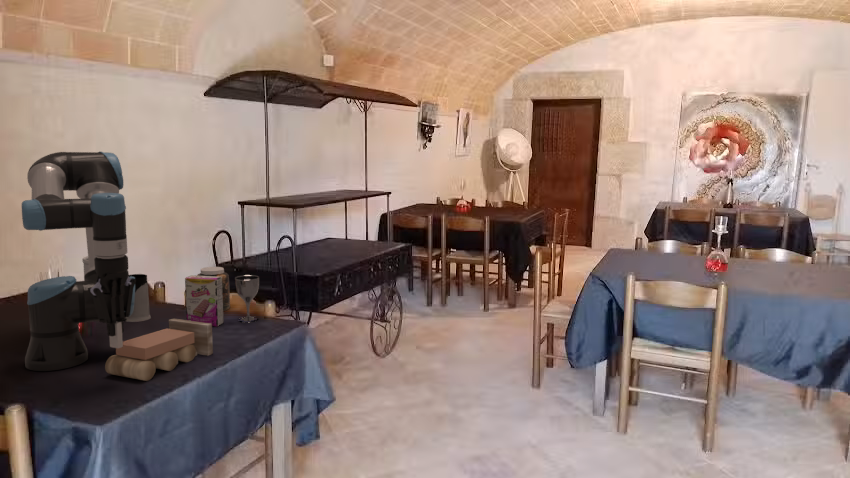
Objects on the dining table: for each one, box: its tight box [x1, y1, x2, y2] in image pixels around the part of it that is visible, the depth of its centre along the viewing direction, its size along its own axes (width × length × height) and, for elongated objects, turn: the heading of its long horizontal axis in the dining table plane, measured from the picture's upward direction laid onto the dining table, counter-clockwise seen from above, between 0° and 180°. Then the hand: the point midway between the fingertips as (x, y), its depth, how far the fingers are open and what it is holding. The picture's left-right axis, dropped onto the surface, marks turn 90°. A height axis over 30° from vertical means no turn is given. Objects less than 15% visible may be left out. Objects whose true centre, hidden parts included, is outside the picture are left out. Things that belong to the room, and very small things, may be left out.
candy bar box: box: [184, 274, 224, 327], centre depth 214 cm, size 11×5×16 cm, turn 84°
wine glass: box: [234, 274, 260, 321], centre depth 221 cm, size 8×8×15 cm
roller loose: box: [170, 344, 196, 363], centre depth 181 cm, size 5×11×5 cm, turn 69°
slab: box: [115, 328, 194, 360], centre depth 174 cm, size 18×10×3 cm, turn 159°
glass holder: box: [125, 273, 152, 323], centre depth 221 cm, size 9×14×15 cm, turn 81°
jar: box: [196, 266, 231, 312], centre depth 235 cm, size 12×12×15 cm
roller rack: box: [104, 317, 214, 382], centre depth 176 cm, size 26×14×9 cm, turn 159°
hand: (116, 346), depth 162 cm, fingers closed
